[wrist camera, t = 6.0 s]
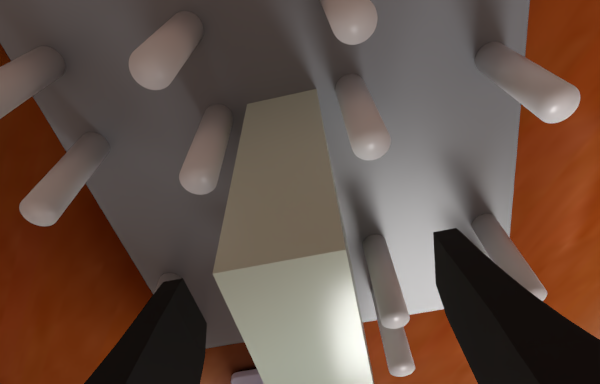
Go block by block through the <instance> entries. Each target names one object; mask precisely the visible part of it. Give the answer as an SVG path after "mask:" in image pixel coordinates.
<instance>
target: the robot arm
mask: <svg viewBox="0 0 600 384" xmlns="http://www.w3.org/2000/svg"><path fill="white" fill-rule="evenodd" d="M433 238H434V258H435V278H436V286H437V289H438V292H439V295H440V298H441V301H442V304H443V307H444V310H445V313H446V316H447V318H448V320H449V323H450V325H451V327H452V329H453V331H454V333H455V336H456V338H457V340H458V342H459V344H460V346H461V348H462V350H463V353H464V355H465V357H466V359H467V361H468V363H469V365H470V367H471V369H472V372H473V374H474V376H475V378H476V380H477V382H478V384H600V340H599V339H597V338H596V337H594V336H593V335H591V334H589V333H588V332H586V331H585V330H583V329H582V328H580V327H579V326H577V325H576V324H574V323H572V322H571V321H569V320H568V319H567V318H565V317H564V316H562V315H561V314H559V313H558V312H557V311H555V310H554V309H552V308H551V307H549V306H548V305H547V304H545V303H544V302H543V301H541V300H540V299H539V298H537V297H536V296H535V295H533V294H532V293H531V292H529V291H528V290H527V289H526V288H524V287H523V286H522V285H521V284H519V283H518V282H517V281H516V280H514V279H513V278H512V277H511V276H510V275H508V274H507V273H506V272H505V271H504V270H502V269H501V268H500V267H499V266H498V265H497V264H495V263H494V262H493V261H492V260H491V259H490V258H489V257H487V256H486V255H485V254H484V253H483V252H482V251H481V250H480V249H479V248H478V247H476V246H475V245H474V244H473V243H472V242H471V241H470V240H469V239H468V238H467V237H466V236H465V235H464V234H463V233H462V232H461V231H460V230H458V229H457V228H453V229H448V230H442V231H437V232H433ZM206 332H207V322H206V321H205V319H204V317H203V315H202V313H201V311H200V309H199V307H198V306H197V304H196V302H195V300H194V298H193V296H192V294H191V292H190V291H189V289H188V287H187V285H186V283H185V281H184V279H183V278H182V279H176V280H171V281H165V282H163V283H162V284H161V285H160V287H159V288H158V289H157V291H156V292H155V293H154V295H153V296H152V297H151V299H150V300H149V301H148V303H147V304H146V305H145V307H144V308H143V310H142V311H141V312H140V314H139V315H138V316H137V318H136V319H135V320H134V322H133V323H132V324H131V326H130V327H129V328H128V330H127V331H126V332H125V334H124V335H123V336H122V338H121V339H120V340H119V342H118V343H117V344H116V345H115V347H114V348H113V349H112V350H111V352H110V353H109V354H108V355H107V357H106V358H105V359H104V360H103V361H102V363H101V364H100V365H99V366H98V368H97V369H96V370H95V371H94V372H93V374H92V375H91V376H90V377H89V379H88V380H87V381H86V382H85V383H84V384H200V380H201V374H202V369H203V364H204V358H205V348H206ZM231 384H264V383H263V381H262V379H261V376H260V374H259V372H258V370H257V369H253V370H247V371H240V372H236V373H234V374H232V376H231Z"/></svg>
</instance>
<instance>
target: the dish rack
mask: <svg viewBox="0 0 600 384" xmlns="http://www.w3.org/2000/svg"><path fill="white" fill-rule="evenodd" d="M529 3H530V0H0V43H1V45H2V47H3V48H4V50H5V52H6V53H7V55H8V56H9V58H10V60H11V62H9V63H7V64H5V65H3V66H1V67H0V119H1V118H2V117H4V116H5V115H6V114H8V113H9V112H11V111H12V110H13V109H15V108H16V107H18V106H19V105H21V104H22V103H23V102H25V101H26V100H28V99H29V98H30V97H32V96H33V98H34V99H35V101H36V102H37V104H38V106H39V107H40V109H41V111H42V112H43V114H44V116H45V117H46V119H47V121H48V122H49V124H50V125H51V127H52V129H53V130H54V132H55V134H56V135H57V137H58V139H59V140H60V142H61V144H62V145H63V147H64V149H65V150H66V152H67V153H66V154H65V155H64V156H63V157H62V158H61V159H60V160H59V161H58V162H57V164H56V165H55V166H54V167H53V168H52V169H51V170H50V171H49V172H48V173H47V174H46V175H45V176H44V178H43V179H42V180H41V181H40V182H39V183H38V184H37V185H36V186H35V187H34V188H33V189H32V190H31V192H30V193H29V194H28V195H27V196H26V197H25V198H24V199H23V200H22V201H21V203H20V205H19V210H20V212H21V214H22V216H23V217H24V218H25V219H26V220H27V221H29V222H31V223H33V224H35V225H38V226H51V225H53V224H55V223H56V222H57V220H58V219H59V218H60V216H61V215H62V214H63V212H64V211H65V210H66V208H67V207H68V206H69V204H70V203H71V202H72V200H73V199H74V198H75V196H76V195H77V194H78V192H79V191H80V190H81V188H82V187H83V186H84V184H85V183H86V185H87V186H88V188H89V190H90V191H91V193H92V195H93V196H94V198H95V199H96V201H97V203H98V204H99V206H100V208H101V209H102V211H103V213H104V214H105V216H106V218H107V219H108V221H109V222H110V224H111V226H112V227H113V229H114V231H115V232H116V234H117V236H118V237H119V239H120V241H121V242H122V244H123V246H124V247H125V249H126V250H127V252H128V254H129V255H130V257H131V259H132V260H133V262H134V264H135V265H136V267H137V269H138V270H139V272H140V273H141V275H142V277H143V278H144V280H145V282H146V283H147V285H148V287H149V288H150V290H151V292H152V293H153V295H154V293H155V292H156V291H157V289H158V288H159V287H160V285H161V284H162V283H163V282H165V281H171V280H176V279H182V278H183V279H184V281H185V283H186V285H187V287H188V289H189V291H190V292H191V294H192V296H193V298H194V300H195V302H196V304H197V306H198V307H199V309H200V311H201V313H202V315H203V317H204V319H205V321H206V322H207V332H206V348H212V347H218V346H224V345H230V344H236V343H242V342H244V340H243V338H242V336H241V334H240V332H239V329H238V327H237V325H236V323H235V321H234V319H233V317H232V314H231V312H230V310H229V308H228V306H227V304H226V302H225V300H224V297H223V295H222V293H221V291H220V289H219V287H218V285H217V282H216V280H215V278H214V276H213V269H214V264H215V259H216V254H217V249H218V244H219V239H220V234H221V229H222V225H223V220H224V215H225V210H226V205H227V200H228V195H229V190H230V185H231V180H232V175H233V171H234V166H235V161H236V156H237V151H238V146H239V141H240V136H241V131H242V126H243V122H244V117H245V112H246V107H247V104H249V103H254V102H259V101H263V100H268V99H272V98H277V97H281V96H286V95H290V94H295V93H300V92H304V91H309V90H313V89H317V94H318V99H319V104H320V109H321V114H322V119H323V124H324V129H325V134H326V139H327V144H328V149H329V154H330V159H331V164H332V169H333V174H334V179H335V184H336V189H337V194H338V199H339V204H340V209H341V214H342V219H343V224H344V229H345V234H346V239H347V244H348V249H349V254H350V259H351V264H352V269H353V274H354V280H355V285H356V290H357V295H358V300H359V306H360V311H361V316H362V321H363V322H368V321H374V320H378V325H379V329H380V333H381V338H382V342H383V346H384V351H385V355H386V360H387V364H388V368H389V372H390V374H391V375H393V376H397V377H403V376H407V375H409V374H411V373H412V372H413V371H414V370H415V365H414V362H413V358H412V355H411V351H410V348H409V344H408V341H407V337H406V334H405V331H404V327H403V326H405V325H406V324H407V323H408V322H409V319H410V316H409V315H410V314H416V313H422V312H429V311H435V310H441V309H444V307H443V304H442V301H441V298H440V295H439V292H438V289H437V286H436V278H435V258H434V238H433V232H437V231H442V230H448V229H453V228H457V229H458V230H460V231H461V232H462V233H463V234H464V235H465V236H466V237H467V238H468V239H469V240H470V241H471V242H472V243H473V244H474V245H475V246H476V247H478V248H479V249H480V250H481V251H482V252H483V253H484V254H485V255H486V256H487V257H489V258H490V259H491V260H492V261H493V262H494V263H495V264H497V265H498V266H499V267H500V268H501V269H502V270H504V271H505V272H506V273H507V274H508V275H510V276H511V277H512V278H513V279H514V280H516V281H517V282H518V283H519V284H521V285H522V286H523V287H524V288H526V289H527V290H528V291H529V292H531V293H532V294H533V295H535V296H536V297H537V298H539V299H540V300H541V301H543V300H544V299H545V298H546V296H547V291H546V289H545V288H544V286H543V285H542V283H541V282H540V281H539V279H538V278H537V276H536V275H535V273H534V272H533V271H532V269H531V268H530V266H529V265H528V263H527V262H526V261H525V259H524V258H523V256H522V255H521V253H520V252H519V251H518V249H517V248H516V246H515V245H514V243H513V242H512V241H511V239H510V238H509V237H510V225H511V213H512V202H513V190H514V178H515V167H516V155H517V143H518V131H519V120H520V108H521V104H522V105H523V106H524V107H526V108H527V109H528V110H529V111H531V112H532V113H533V114H535V115H536V116H537V117H538V118H540V119H541V120H542V121H544V122H546V123H557V122H561V121H563V120H565V119H567V118H568V117H569V116H570V115H572V114H573V113H574V111H575V110H576V109H577V107H578V105H579V102H580V92H579V90H578V89H577V88H576V87H575V86H573V85H571V84H570V83H568V82H566V81H565V80H563V79H561V78H559V77H558V76H556V75H554V74H553V73H551V72H549V71H547V70H546V69H544V68H542V67H541V66H539V65H537V64H535V63H534V62H532V61H530V60H529V59H527V58H525V49H526V38H527V26H528V14H529ZM206 348H205V349H206Z"/></svg>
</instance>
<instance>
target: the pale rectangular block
mask: <svg viewBox="0 0 600 384" xmlns="http://www.w3.org/2000/svg"><path fill="white" fill-rule="evenodd" d="M213 276H214V278H215V280H216V282H217V285H218V287H219V289H220V291H221V293H222V295H223V297H224V300H225V302H226V304H227V306H228V308H229V310H230V312H231V314H232V317H233V319H234V321H235V323H236V325H237V327H238V329H239V332H240V334H241V336H242V338H243V340H244V342H245V344H246V347H247V349H248V351H249V353H250V355H251V357H252V359H253V362H254V364H255V366H256V368H257V370H258V372H259V374H260V376H261V379H262V381H263V383H264V384H374V379H373V374H372V368H371V363H370V358H369V353H368V347H367V342H366V337H365V332H364V327H363V321H362V316H361V311H360V306H359V300H358V295H357V290H356V285H355V280H354V274H353V269H352V264H351V259H350V254H349V249H348V244H347V239H346V234H345V229H344V224H343V219H342V214H341V209H340V204H339V199H338V194H337V189H336V184H335V179H334V174H333V169H332V164H331V159H330V154H329V149H328V144H327V139H326V134H325V129H324V124H323V119H322V114H321V109H320V104H319V99H318V94H317V89H313V90H309V91H304V92H300V93H295V94H290V95H286V96H281V97H277V98H272V99H268V100H263V101H259V102H254V103H249V104H247V107H246V112H245V117H244V122H243V126H242V131H241V136H240V141H239V146H238V151H237V156H236V161H235V166H234V171H233V175H232V180H231V185H230V190H229V195H228V200H227V205H226V210H225V215H224V220H223V225H222V229H221V234H220V239H219V244H218V249H217V254H216V259H215V264H214V269H213Z"/></svg>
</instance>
